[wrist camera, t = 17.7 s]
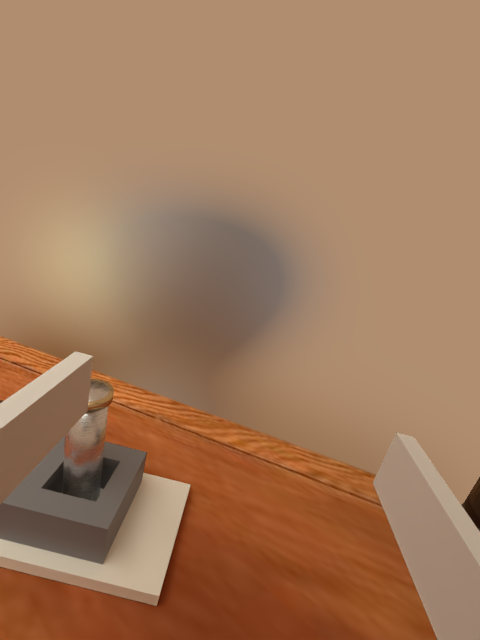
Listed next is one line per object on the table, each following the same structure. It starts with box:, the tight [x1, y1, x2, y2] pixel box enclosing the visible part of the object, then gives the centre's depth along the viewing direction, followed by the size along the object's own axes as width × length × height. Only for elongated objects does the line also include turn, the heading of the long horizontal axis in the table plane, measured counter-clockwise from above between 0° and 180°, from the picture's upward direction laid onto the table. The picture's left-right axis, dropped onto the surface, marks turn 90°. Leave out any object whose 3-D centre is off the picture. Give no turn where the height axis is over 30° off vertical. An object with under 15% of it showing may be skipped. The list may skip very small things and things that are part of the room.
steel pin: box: [62, 379, 113, 502], centre depth 36 cm, size 5×5×16 cm
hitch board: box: [0, 436, 190, 606], centre depth 38 cm, size 18×14×6 cm
